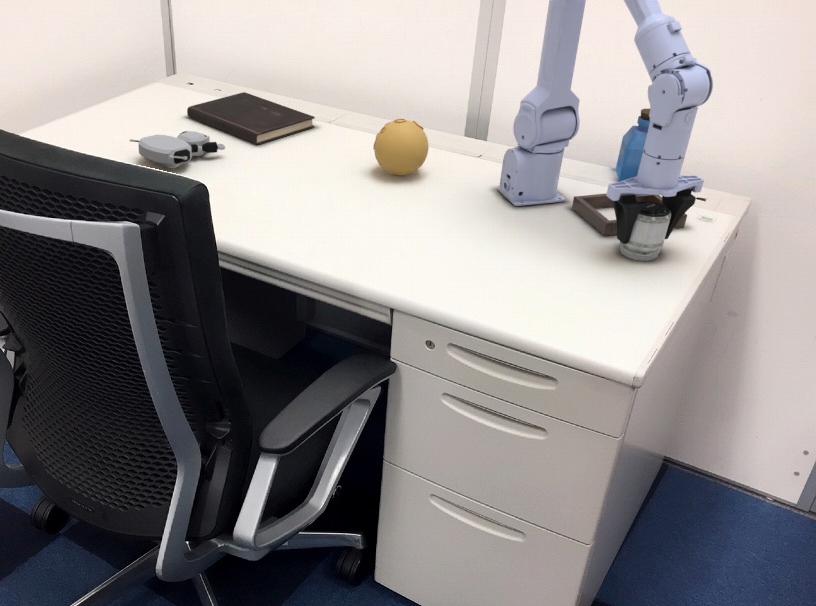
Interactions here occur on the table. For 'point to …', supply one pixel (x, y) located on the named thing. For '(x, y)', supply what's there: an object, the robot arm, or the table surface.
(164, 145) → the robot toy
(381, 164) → the stress ball
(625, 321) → the table surface
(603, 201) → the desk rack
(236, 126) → the hardcover book
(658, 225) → the camera lens
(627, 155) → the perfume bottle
